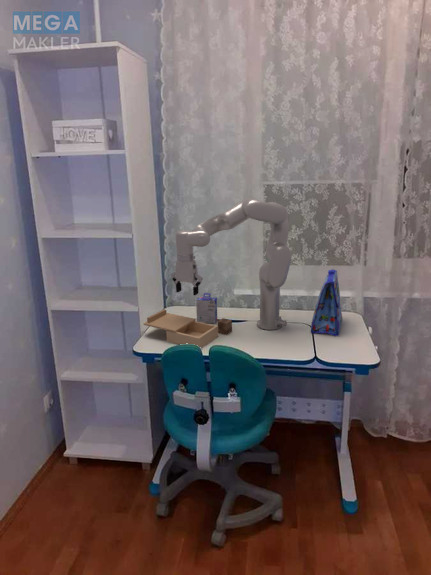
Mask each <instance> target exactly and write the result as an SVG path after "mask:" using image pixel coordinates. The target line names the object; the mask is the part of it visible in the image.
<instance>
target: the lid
mask: <svg viewBox="0 0 431 575" xmlns="http://www.w3.org/2000/svg"><path fill="white" fill-rule="evenodd" d="M194 321H197V318H194V317H189V316H183V315H179V314H174V313H170V312H167V309H166V308H165V309H161V310H159V311H158V312H156V313H153V314H151V315H150V316H148V317H147V318H146V321H145V322H143V326H147V327H150V328H155V329H159V330H165V331H166V330H167V331H172V332H177V331H178V330H180V329H182V328H184V327H185V326H187V325H189V324H190V323H192V322H194Z"/></svg>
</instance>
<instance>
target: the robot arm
mask: <svg viewBox="0 0 431 575" xmlns="http://www.w3.org/2000/svg"><path fill="white" fill-rule="evenodd" d="M249 219H251V220H255V221H258V222H265V223H268V224H270V232H269V237H268V241H267V246H266V248H265V254H266V257H267V258H268V259H269V261H268V262H265V263H263V264H262V265H261V266H260V268H259V272H258V275H259V276H258V277H259V278H258V279H259V289H260V290H259V292H260V293H259V320H258V321H256V327H257V328H259V329H262V330H267V331H268V330H269V331H273V330H274V331H275V330H278V329H281V328H282V327H283V326H284V327H286V326H287V325H288V324H287V323H288V322H287V320H284V319H282V316H280V309H281V307H280V306H281V287H282V286H284V284H286V281H287V278H288V275H289V271H290V266H291V263H292V252H291V249H290V247H288V246H287V242H288V239H289V233H290V223H289V218H288V210H287V208H286V207H285V206H284V205H283V204H279V203H278V202H275V201H269V202H267V201H262V200H259V199H256V198H254V197H246V198H244V199H242V200H240V201H239V202H238V203H236V204H234V205H232V206H231V207H230V208H228V209H226V210H225V211H223V212H221V213H218V214H216V215H215V216H212V217H210V218H207V219H206V220H204V221H202V222H201V223H199V224H198V225H196V226H195V227H194V228H193V229H191V230H190V229H182V230H181V229H180V230H177V231H176V232H175V246H176V247H175V249H176V260H175V267H174V268H175V270H174V272H172V273H170V277H171V280H172V281H173V282H174V284H175V290H176V293H180V292H182V283H181V282H183V283H191V284H192V286H193V287H192V291H193V292H192V293H193V296H197V295H199V287H200V285H201V284H202V281H203V276H200V275H199V274H198V273H199V272H198V264H197V262H196V255H194V247H198V248H199V247H200V248H202V247H206V246H208V245H209V243H210V242H211V236H213V235H215V234H216V233H219V232H222V231H229V230H232V229H234V228H236V227H237V226H239V225H241V224H242V223H244V222H246V221H247V220H249Z"/></svg>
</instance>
